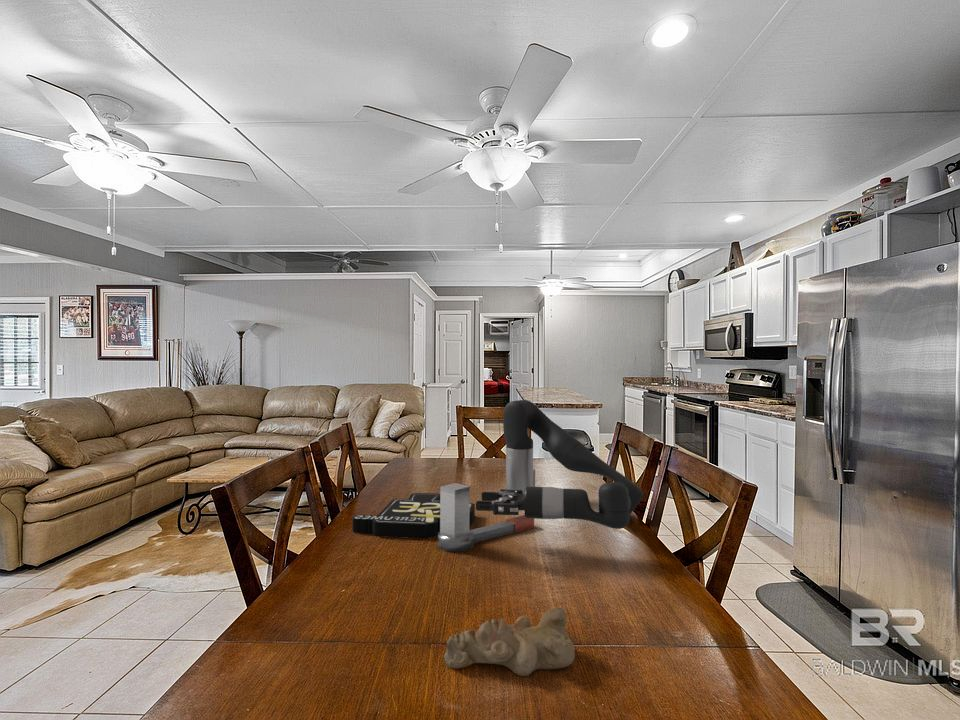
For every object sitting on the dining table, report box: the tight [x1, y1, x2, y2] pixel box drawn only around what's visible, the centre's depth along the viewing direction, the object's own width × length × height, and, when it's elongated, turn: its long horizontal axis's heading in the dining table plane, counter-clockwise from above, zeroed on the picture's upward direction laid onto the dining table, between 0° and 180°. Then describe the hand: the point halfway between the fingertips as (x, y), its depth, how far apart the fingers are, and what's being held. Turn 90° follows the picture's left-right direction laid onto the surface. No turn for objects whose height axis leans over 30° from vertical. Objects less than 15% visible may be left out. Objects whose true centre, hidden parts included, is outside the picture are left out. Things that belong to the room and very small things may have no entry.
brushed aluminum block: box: [439, 482, 471, 540], centre depth 122 cm, size 5×5×12 cm
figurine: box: [443, 607, 576, 677], centre depth 76 cm, size 12×8×20 cm
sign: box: [351, 492, 476, 539], centre depth 142 cm, size 32×4×30 cm
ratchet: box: [437, 514, 535, 553], centre depth 128 cm, size 30×9×7 cm, turn 126°
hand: (479, 500), depth 121 cm, fingers open, 8 cm apart
